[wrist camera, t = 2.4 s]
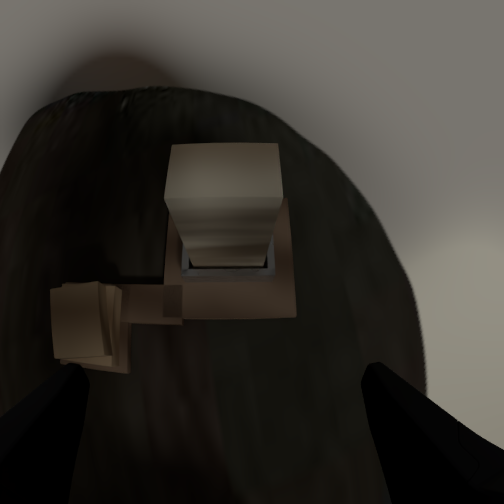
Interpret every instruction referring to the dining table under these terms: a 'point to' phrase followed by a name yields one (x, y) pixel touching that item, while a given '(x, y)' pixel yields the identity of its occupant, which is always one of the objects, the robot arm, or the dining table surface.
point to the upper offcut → (80, 321)
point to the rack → (208, 291)
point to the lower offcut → (114, 326)
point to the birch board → (225, 201)
